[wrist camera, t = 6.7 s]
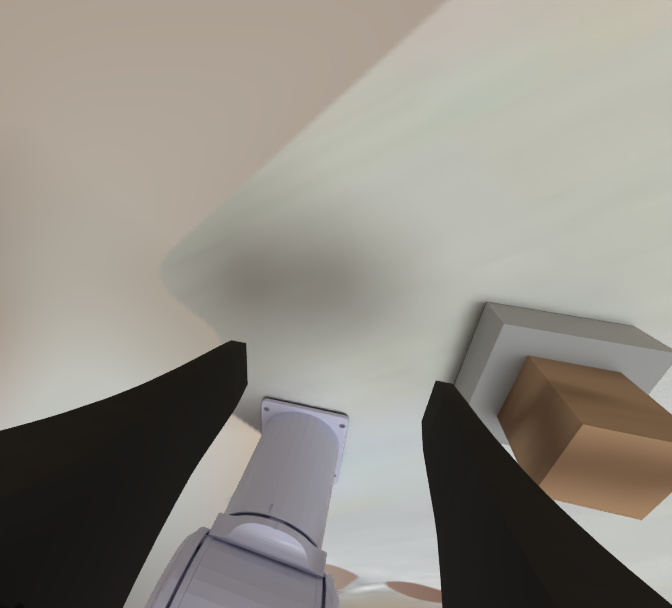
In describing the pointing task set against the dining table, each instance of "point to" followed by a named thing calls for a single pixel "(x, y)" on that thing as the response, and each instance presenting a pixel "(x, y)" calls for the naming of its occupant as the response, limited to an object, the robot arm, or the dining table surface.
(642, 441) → the block
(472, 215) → the dining table surface
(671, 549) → the dining table surface
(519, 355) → the base
